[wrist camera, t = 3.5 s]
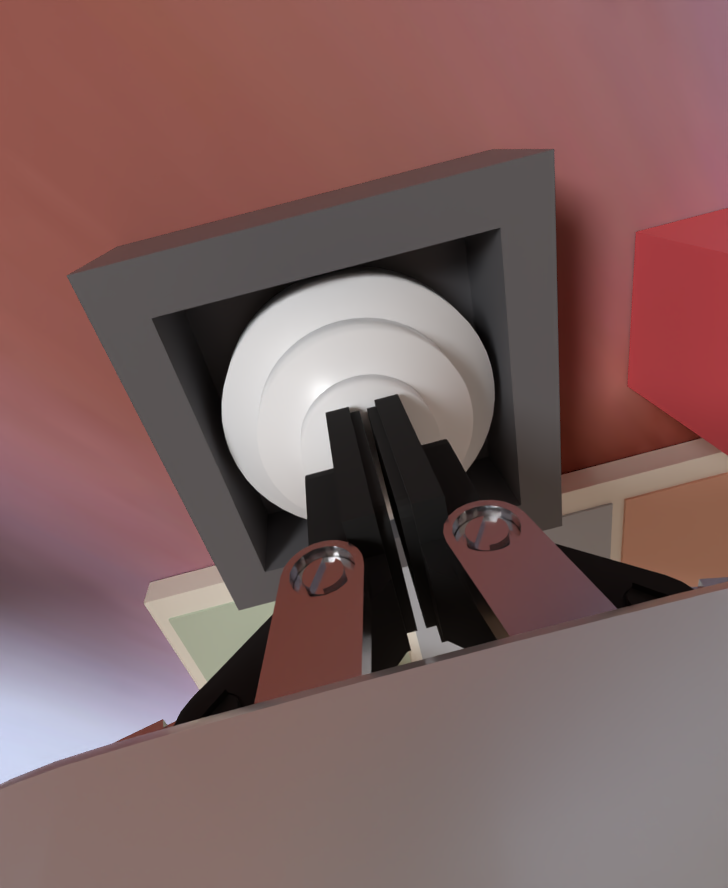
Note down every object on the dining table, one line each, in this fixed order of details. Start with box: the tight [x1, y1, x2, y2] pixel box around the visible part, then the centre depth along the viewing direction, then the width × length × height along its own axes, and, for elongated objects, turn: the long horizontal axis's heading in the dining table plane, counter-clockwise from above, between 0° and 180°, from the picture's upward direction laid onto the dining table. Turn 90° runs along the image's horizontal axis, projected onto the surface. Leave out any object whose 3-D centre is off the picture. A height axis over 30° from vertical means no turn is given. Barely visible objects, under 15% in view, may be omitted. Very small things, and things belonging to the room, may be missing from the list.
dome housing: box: [67, 149, 562, 610], centre depth 14 cm, size 10×10×4 cm
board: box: [144, 438, 728, 689], centre depth 21 cm, size 10×26×1 cm, turn 102°
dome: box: [222, 267, 495, 520], centre depth 13 cm, size 7×7×3 cm
